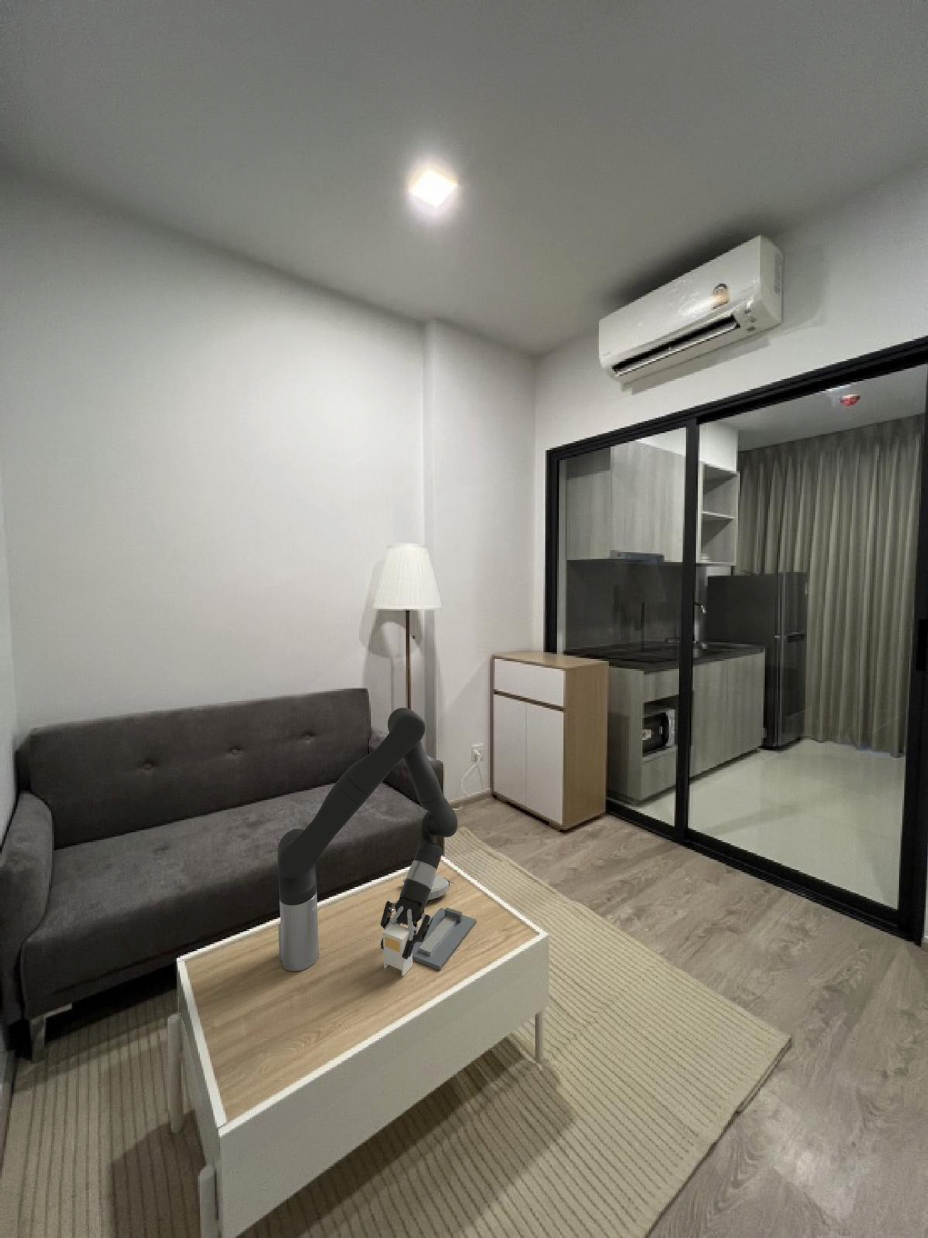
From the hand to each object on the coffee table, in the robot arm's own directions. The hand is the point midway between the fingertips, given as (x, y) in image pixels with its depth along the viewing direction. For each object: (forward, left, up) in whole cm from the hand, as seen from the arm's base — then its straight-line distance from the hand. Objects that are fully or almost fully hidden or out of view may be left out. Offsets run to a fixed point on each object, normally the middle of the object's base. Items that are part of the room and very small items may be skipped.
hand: (393, 953), depth 121 cm
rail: (+4, +16, -5) cm, 17 cm away
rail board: (+4, +16, -5) cm, 17 cm away
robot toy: (-11, +33, -5) cm, 35 cm away
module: (0, +2, -4) cm, 5 cm away
